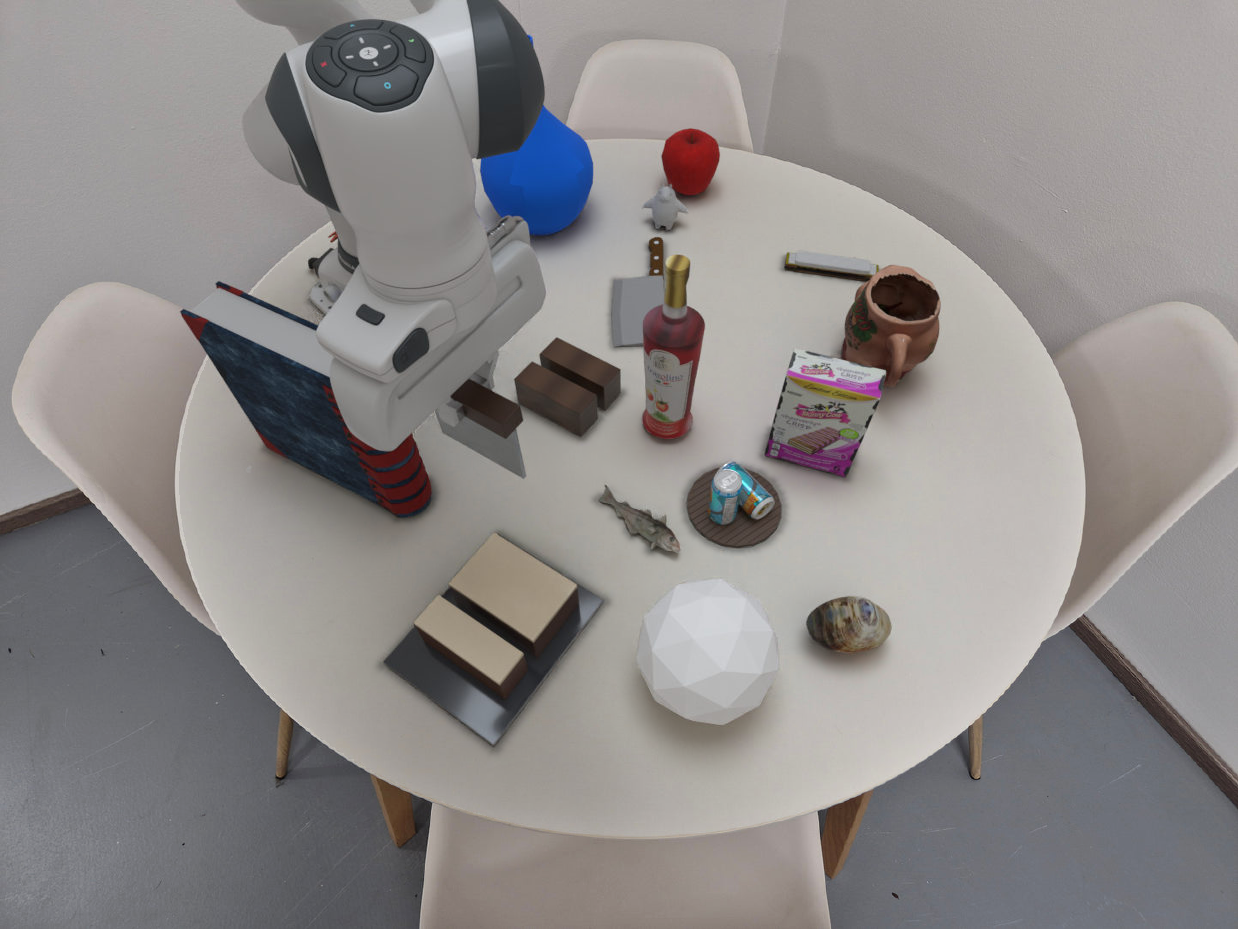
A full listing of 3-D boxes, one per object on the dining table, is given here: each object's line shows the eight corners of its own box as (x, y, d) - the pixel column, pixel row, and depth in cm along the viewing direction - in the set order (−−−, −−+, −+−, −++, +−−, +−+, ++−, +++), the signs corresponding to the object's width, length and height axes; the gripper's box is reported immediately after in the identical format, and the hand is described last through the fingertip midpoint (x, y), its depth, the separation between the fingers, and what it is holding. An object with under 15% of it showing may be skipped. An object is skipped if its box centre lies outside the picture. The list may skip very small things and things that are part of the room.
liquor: (632, 437, 104) (634, 276, 81) (650, 398, 108) (656, 234, 85) (684, 452, 102) (701, 292, 79) (700, 412, 106) (720, 249, 83)
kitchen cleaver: (614, 237, 127) (675, 235, 126) (615, 242, 128) (675, 240, 127) (609, 344, 113) (677, 343, 112) (610, 349, 114) (677, 347, 113)
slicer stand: (518, 402, 107) (513, 378, 103) (559, 361, 112) (556, 336, 108) (581, 437, 104) (579, 414, 100) (620, 393, 108) (620, 369, 104)
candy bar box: (763, 458, 102) (783, 374, 88) (771, 430, 104) (792, 345, 91) (847, 480, 99) (881, 398, 86) (853, 451, 102) (887, 367, 89)
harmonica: (784, 270, 123) (786, 260, 122) (785, 258, 125) (788, 248, 123) (876, 283, 121) (879, 273, 120) (876, 270, 123) (880, 260, 121)
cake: (384, 664, 85) (370, 644, 81) (498, 535, 95) (491, 511, 90) (494, 746, 80) (486, 731, 76) (603, 601, 90) (602, 580, 85)
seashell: (877, 613, 89) (897, 582, 82) (888, 661, 85) (910, 632, 79) (795, 616, 88) (809, 584, 82) (803, 663, 85) (818, 635, 79)
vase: (505, 263, 125) (476, 83, 100) (476, 199, 135) (443, 21, 110) (610, 236, 128) (607, 56, 104) (574, 176, 138) (563, -1, 114)
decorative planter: (928, 427, 104) (965, 356, 93) (838, 422, 105) (864, 351, 94) (907, 323, 116) (938, 249, 105) (826, 320, 117) (848, 245, 105)
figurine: (638, 229, 130) (639, 189, 123) (645, 208, 133) (646, 168, 126) (685, 235, 128) (688, 195, 122) (690, 214, 132) (694, 173, 125)
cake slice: (423, 640, 86) (413, 622, 82) (446, 613, 88) (438, 594, 84) (505, 699, 82) (499, 683, 78) (528, 670, 84) (523, 652, 80)
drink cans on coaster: (667, 498, 98) (670, 461, 92) (738, 453, 102) (746, 415, 96) (728, 565, 92) (736, 531, 86) (801, 515, 96) (813, 479, 90)
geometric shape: (709, 659, 91) (779, 568, 84) (745, 769, 78) (830, 672, 72) (603, 630, 86) (669, 531, 79) (624, 743, 73) (704, 637, 67)
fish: (675, 567, 93) (697, 533, 93) (664, 565, 90) (687, 529, 90) (596, 508, 100) (617, 476, 99) (583, 504, 96) (604, 471, 96)
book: (444, 488, 99) (398, 354, 79) (411, 528, 96) (354, 399, 75) (298, 416, 106) (221, 276, 86) (262, 451, 103) (173, 314, 83)
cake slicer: (435, 439, 73) (411, 375, 65) (451, 423, 74) (430, 358, 67) (517, 486, 69) (502, 424, 62) (533, 468, 70) (520, 405, 63)
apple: (656, 203, 134) (659, 146, 125) (664, 171, 139) (666, 114, 130) (713, 209, 133) (719, 152, 124) (718, 176, 138) (724, 119, 129)
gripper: (491, 190, 61) (514, 319, 72) (295, 347, 51) (357, 468, 62) (555, 217, 58) (568, 345, 70) (362, 385, 49) (415, 503, 60)
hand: (468, 404), depth 66 cm, fingers closed on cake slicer, 2 cm apart
